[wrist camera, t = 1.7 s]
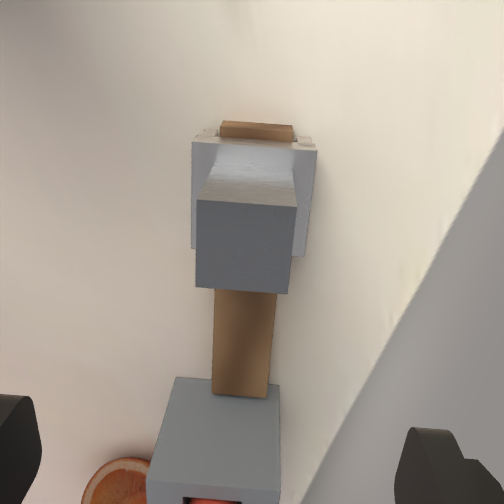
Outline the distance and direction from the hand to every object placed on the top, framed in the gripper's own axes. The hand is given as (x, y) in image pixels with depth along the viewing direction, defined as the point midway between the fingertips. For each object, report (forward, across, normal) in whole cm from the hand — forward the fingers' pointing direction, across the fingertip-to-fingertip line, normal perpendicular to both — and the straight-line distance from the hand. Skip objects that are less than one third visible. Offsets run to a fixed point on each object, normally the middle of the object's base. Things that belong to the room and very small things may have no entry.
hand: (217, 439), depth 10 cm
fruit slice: (+20, +8, +27) cm, 35 cm away
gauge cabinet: (+20, +1, +19) cm, 28 cm away
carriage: (+20, 0, 0) cm, 20 cm away
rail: (+20, 0, +6) cm, 21 cm away
